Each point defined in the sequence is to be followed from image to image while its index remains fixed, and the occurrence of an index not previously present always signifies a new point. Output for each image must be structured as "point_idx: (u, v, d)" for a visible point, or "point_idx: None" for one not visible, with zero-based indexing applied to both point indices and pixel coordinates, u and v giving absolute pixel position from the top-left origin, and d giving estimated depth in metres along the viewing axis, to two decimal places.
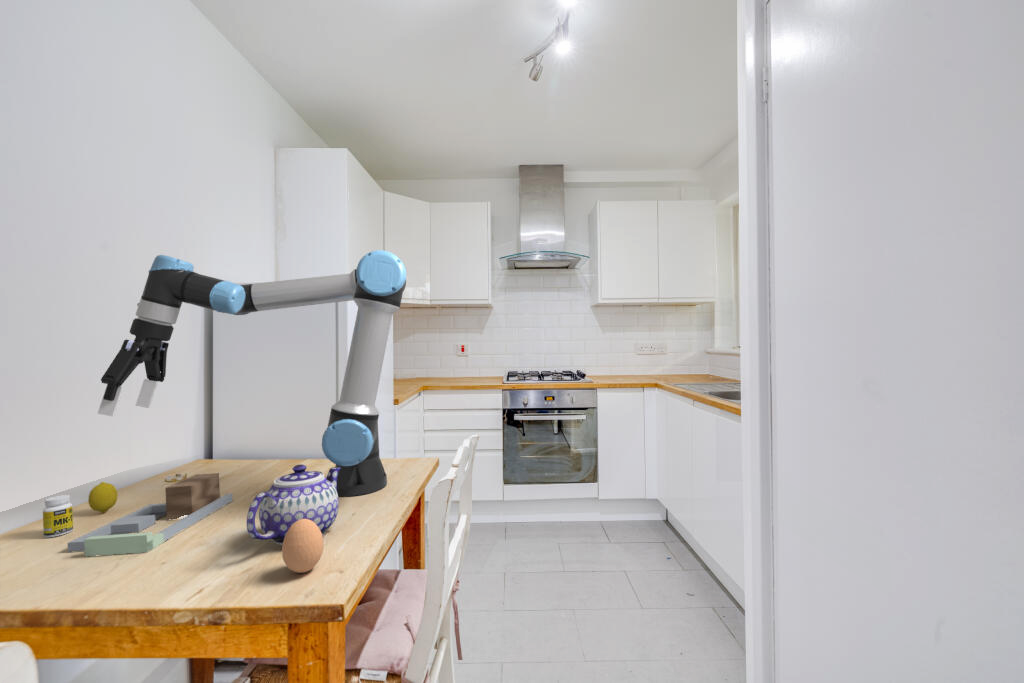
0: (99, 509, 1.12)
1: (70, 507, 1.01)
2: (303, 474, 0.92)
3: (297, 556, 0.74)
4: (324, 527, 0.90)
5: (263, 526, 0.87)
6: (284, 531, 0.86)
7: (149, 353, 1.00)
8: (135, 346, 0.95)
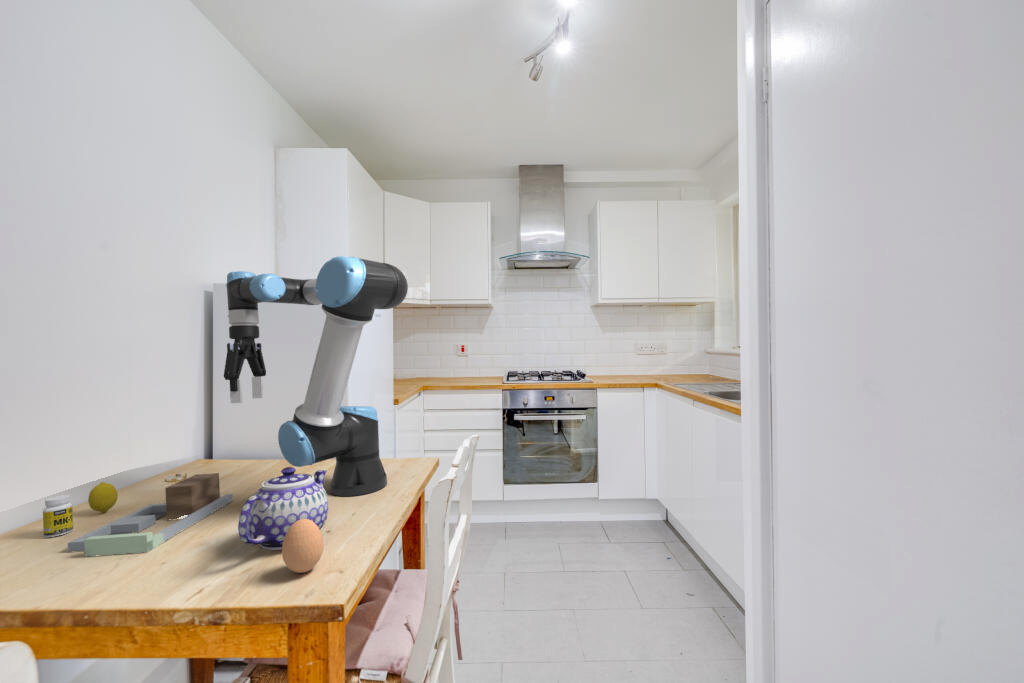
0: (99, 509, 1.12)
1: (70, 507, 1.01)
2: (293, 477, 0.90)
3: (297, 556, 0.74)
4: None
5: (252, 531, 0.85)
6: (276, 535, 0.84)
7: (248, 349, 1.26)
8: (236, 346, 1.21)
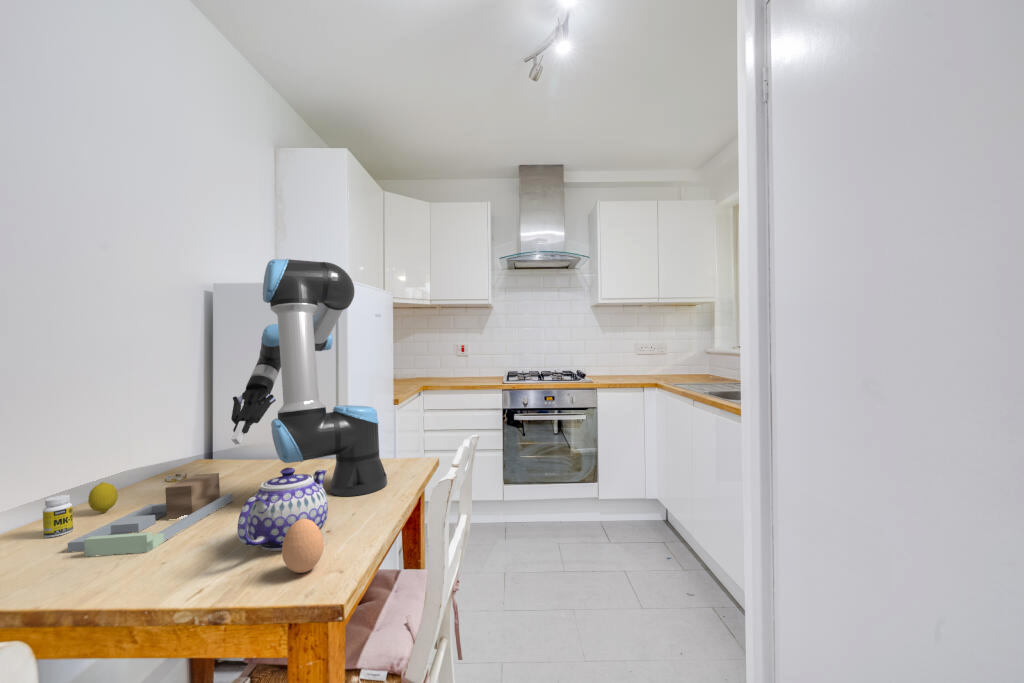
0: (99, 509, 1.12)
1: (70, 507, 1.01)
2: (292, 477, 0.90)
3: (297, 556, 0.74)
4: None
5: (252, 532, 0.84)
6: (275, 536, 0.84)
7: (248, 395, 1.41)
8: (233, 399, 1.41)
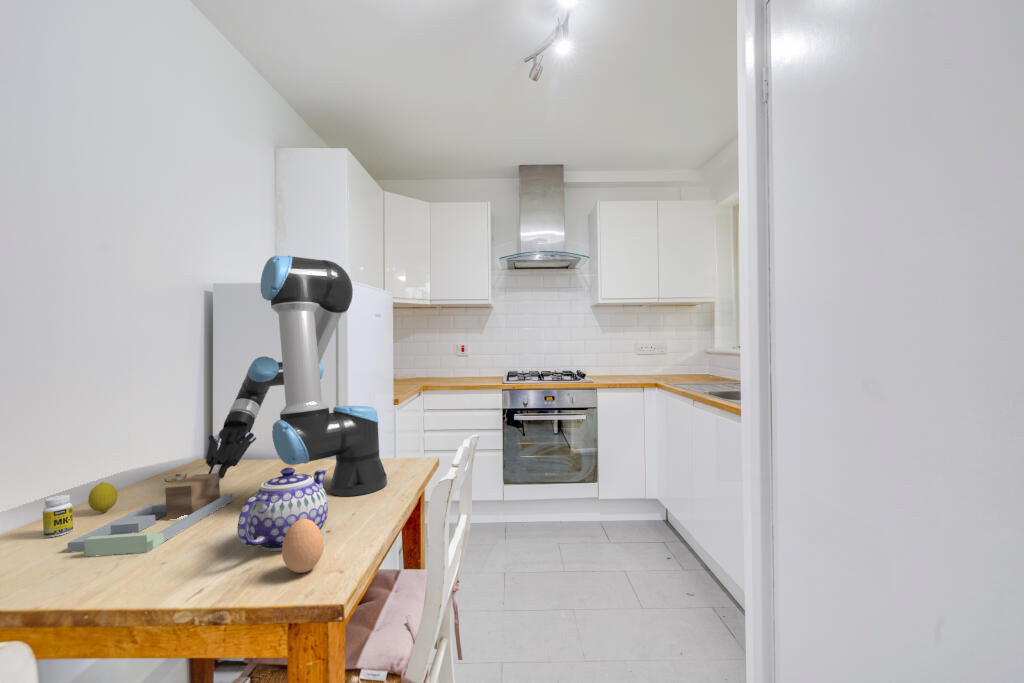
0: (99, 509, 1.12)
1: (70, 507, 1.01)
2: (292, 477, 0.90)
3: (297, 556, 0.74)
4: None
5: (252, 532, 0.84)
6: (275, 536, 0.84)
7: (225, 434, 1.28)
8: (209, 438, 1.28)
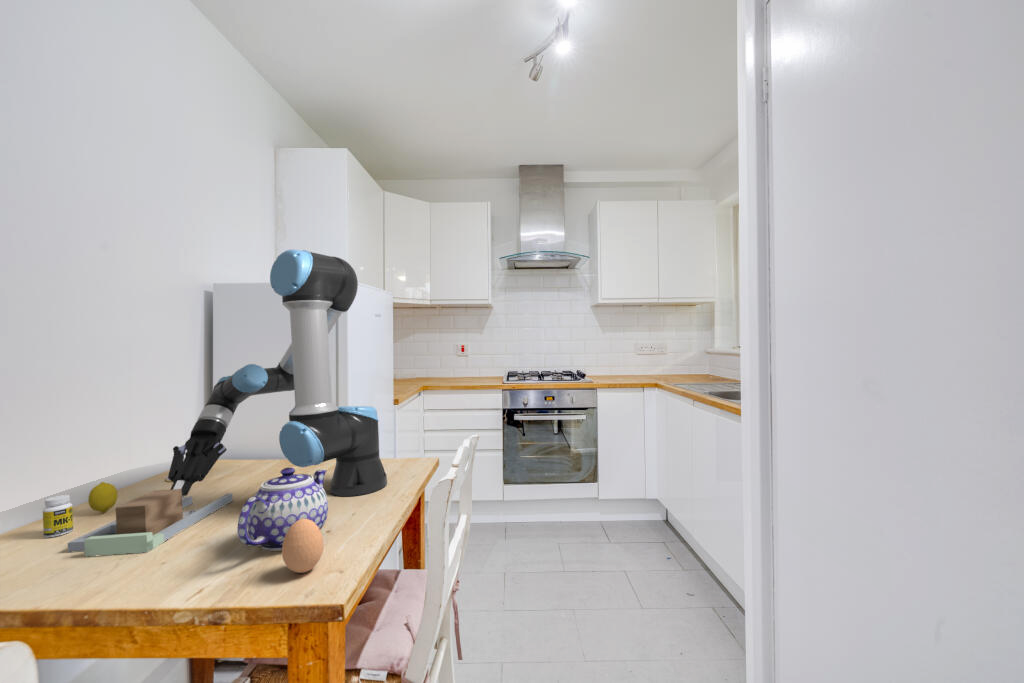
0: (99, 509, 1.12)
1: (70, 507, 1.01)
2: (292, 477, 0.90)
3: (297, 556, 0.74)
4: None
5: (252, 532, 0.84)
6: (275, 536, 0.84)
7: (191, 445, 1.15)
8: (173, 450, 1.15)
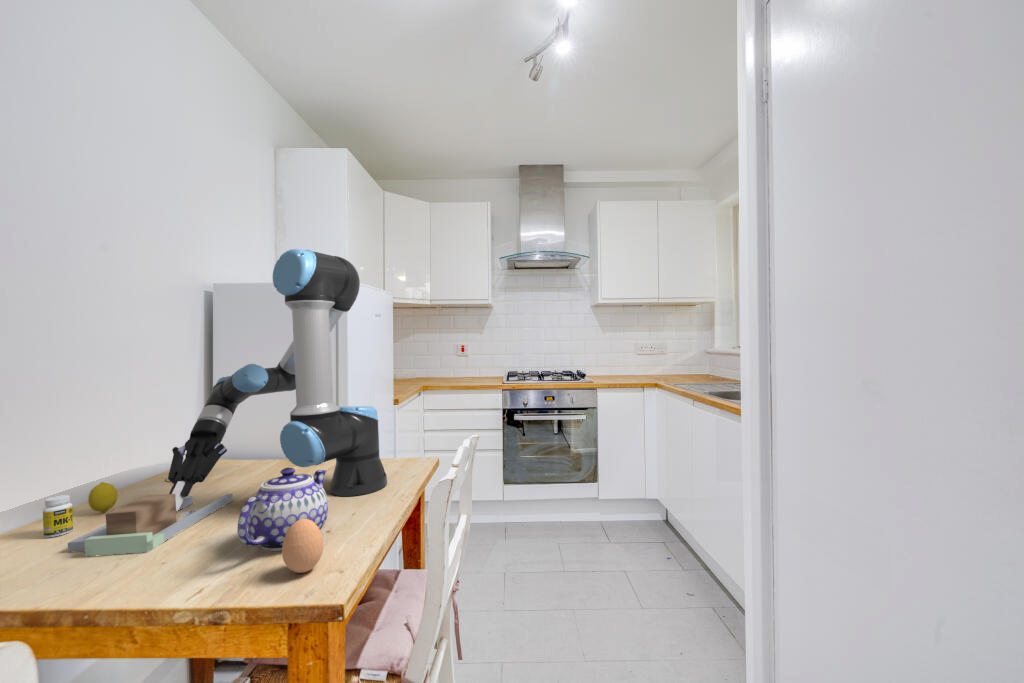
0: (99, 509, 1.12)
1: (70, 507, 1.01)
2: (292, 477, 0.90)
3: (297, 556, 0.74)
4: None
5: (252, 532, 0.84)
6: (275, 536, 0.84)
7: (191, 446, 1.14)
8: (173, 451, 1.13)
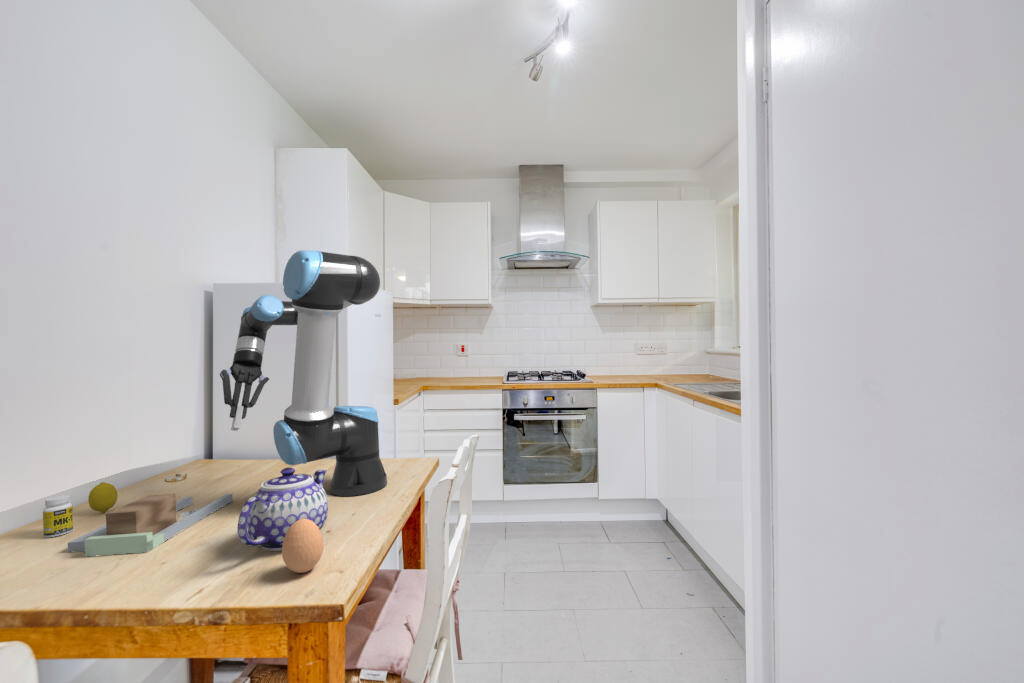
0: (99, 509, 1.12)
1: (70, 507, 1.01)
2: (292, 477, 0.90)
3: (297, 556, 0.74)
4: None
5: (252, 532, 0.84)
6: (275, 536, 0.84)
7: (242, 373, 1.29)
8: (223, 373, 1.26)
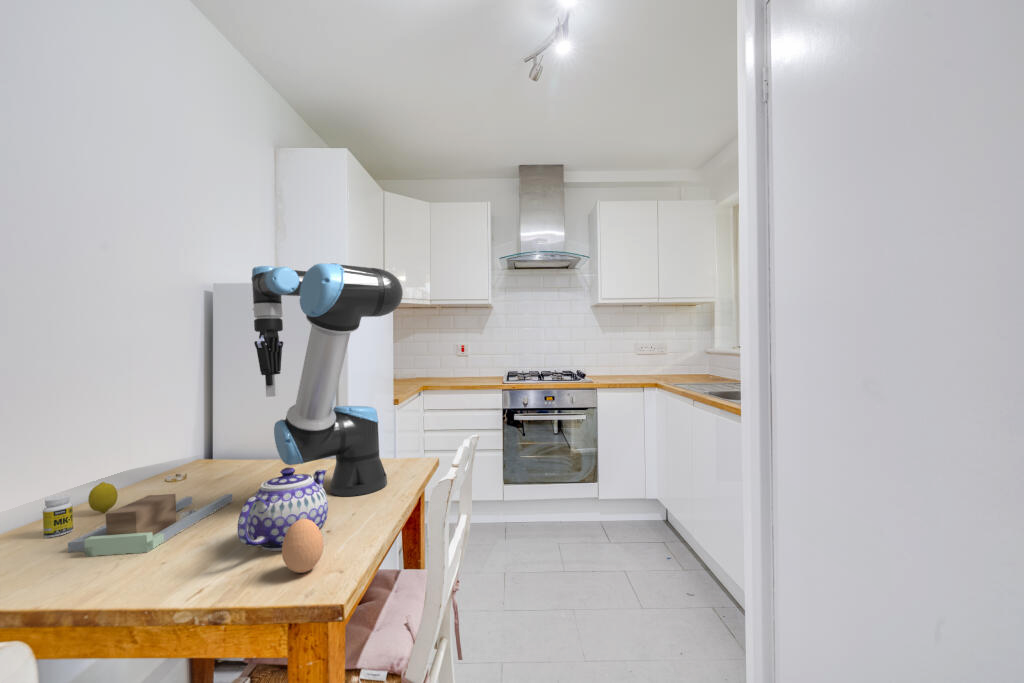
0: (99, 509, 1.12)
1: (70, 507, 1.01)
2: (292, 477, 0.90)
3: (297, 556, 0.74)
4: None
5: (252, 532, 0.84)
6: (275, 536, 0.84)
7: (273, 342, 1.31)
8: (263, 345, 1.26)
